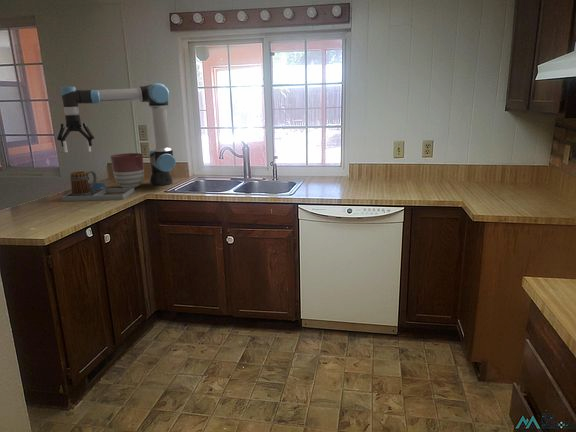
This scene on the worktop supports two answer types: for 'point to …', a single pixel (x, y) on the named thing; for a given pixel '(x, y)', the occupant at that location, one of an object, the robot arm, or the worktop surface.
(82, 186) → the mug
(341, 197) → the worktop surface
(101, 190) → the grey tray
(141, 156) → the planter
